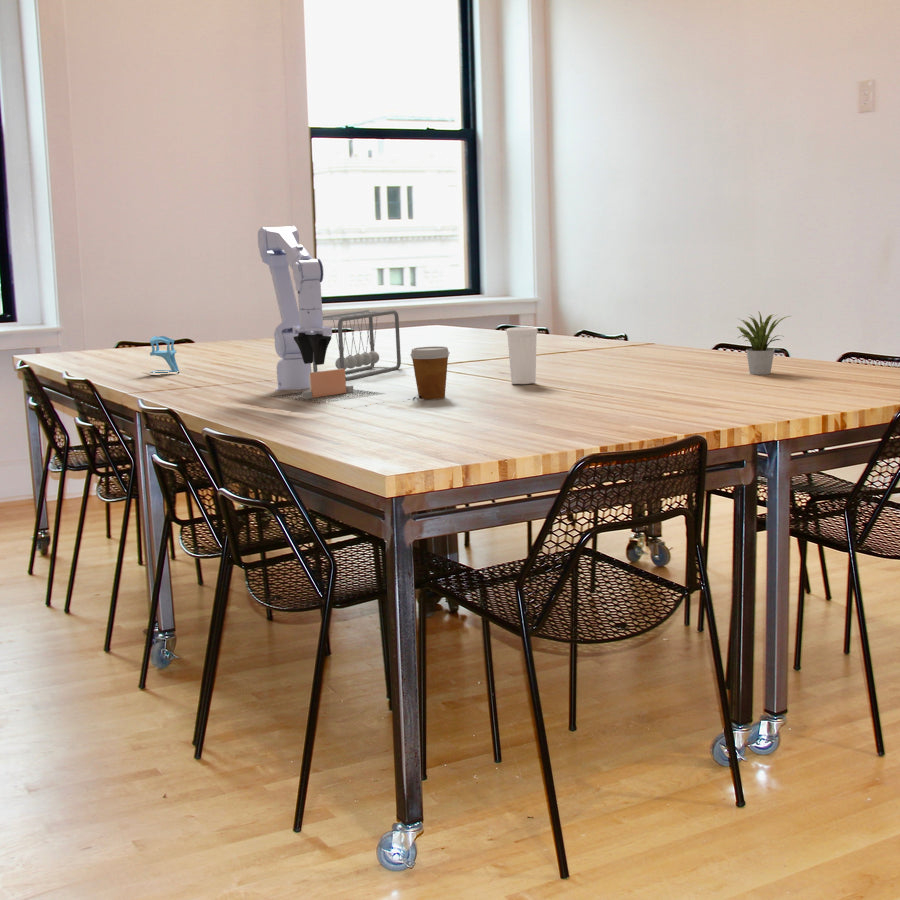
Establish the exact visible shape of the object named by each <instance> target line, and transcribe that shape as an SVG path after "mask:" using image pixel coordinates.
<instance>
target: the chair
mask: <svg viewBox="0 0 900 900" xmlns="http://www.w3.org/2000/svg"><path fill="white" fill-rule="evenodd" d="M175 341H176V340H175V339H173V338H169V337H167V336H164V335H162V336H156V335H154V336H152V337H150V340H149V343H150V346H151V352H149V355H150V356H156V357H161V358H163V359H164V361H166V363H167V365H168V366H169V369H157V370H156V369H155V370H153V371H151V372H149V373H153V372H155V371H169V372H177V371H179V372H180V369H179V366H178V364H177V360H176V357H175V354H177V350H176V349H175V347H174V343H175ZM159 343H165V344H166V350H160V346H159ZM155 347H156V348H155ZM170 349H171V350H170ZM155 373H168V372H155Z"/></svg>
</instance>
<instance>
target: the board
mask: <svg viewBox="0 0 900 900" xmlns="http://www.w3.org/2000/svg"><path fill="white" fill-rule="evenodd" d="M354 394H355V395H354ZM370 394H371V396H378V395H386V393H384V392H377V391H369V390H368V391H367V390H361V389H354V385H351V384H349V385H346V393H341V394H334V395H332V397H327V396H321V397H314V398H312V392H310V390H307V391H305V390H304V391H301V392H300V391H298V392H294V393H293V392H291V393H285V394H279V395H278V394H276V395H272V396H270V397H272V398H275V399H284V400H285V399H286V400H294V401H297V402H298V401H300V402H306V403H307V402H308V403H312V402H313V400H315V402H318V404H321V402H325V399H327V400H329V402H330V403H332V402H338V401H339V402H341V401H346V400H353V399H354V398H355V399H358V398H361V396H362V395H363V398H365V397H367V398H368V396H370Z"/></svg>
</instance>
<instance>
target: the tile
mask: <svg viewBox="0 0 900 900" xmlns="http://www.w3.org/2000/svg"><path fill="white" fill-rule="evenodd" d="M345 371H346V369H343V368H342V369H337V368H334V369H329V370H319V371H317V372H312V371H311V372H312V373H309V383H310V388H309V391H310V392H312V398H314V399H315V398H320V397H321V398H322V397H323V396H324V397H329V396H334V395H335V394H338V395H339V394H340V395H342V394H341V393H346V386H347V381H346V379H345V376H346V375H345ZM346 394H347V393H346ZM312 398H311V399H312Z"/></svg>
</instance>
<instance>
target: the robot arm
mask: <svg viewBox="0 0 900 900" xmlns="http://www.w3.org/2000/svg"><path fill="white" fill-rule="evenodd" d="M257 245H258V249H259V255H260V257H261V261H262V263H264V264H266V265H267V266H268V268H269V271H270V275H271V278H272V283H273V284H272V285H273V287H274V291H275V296H276V301H277V304H278V311H279V315H280V319H281V322H280V323H279V324H278V325H277V326H276V328H275V330H274V333H273V338H274V348H275V352H276V354H277V356H278V357H280V359H279V360H278V362H277V364H276V375H277V376H276V377H277V379H276V380H277V388H275V389H274V391H275V392H276V391H284V390H290V391H291V390H305V389H310V383H309V373H312V364H313V354H314V361H315V364H316V365H317V366H321V365H325V360H326V355H327V354H326V353H327V350H328V347H329V344H330V343H331V340H332V336H333V329H332V327H329V326H324V320H323V316H324V315H323V303H322V301H323V300H322V288H321V287H322V286H321V283H322V282H323V279H324V266H323V262H322V260H321V259H320V258H313V257H312V255H311V254H310V253H309V252H308V250H307V248H306V247H305V246H303V245H302V244H300V234H299V231H298V229H297V227H296V226H295V225H290V226H271V227H270V226H267V227H264V226H261V227H260V228H259V229H258V231H257ZM289 267H290V269H292V276H293V280H294V286H293V282H292V277H291V273H290V269H289ZM294 287H295V289H294ZM295 291H297V299H296V294H295ZM297 301H298V302H297ZM297 303H298V304H297ZM313 331H314V333H313Z"/></svg>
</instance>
